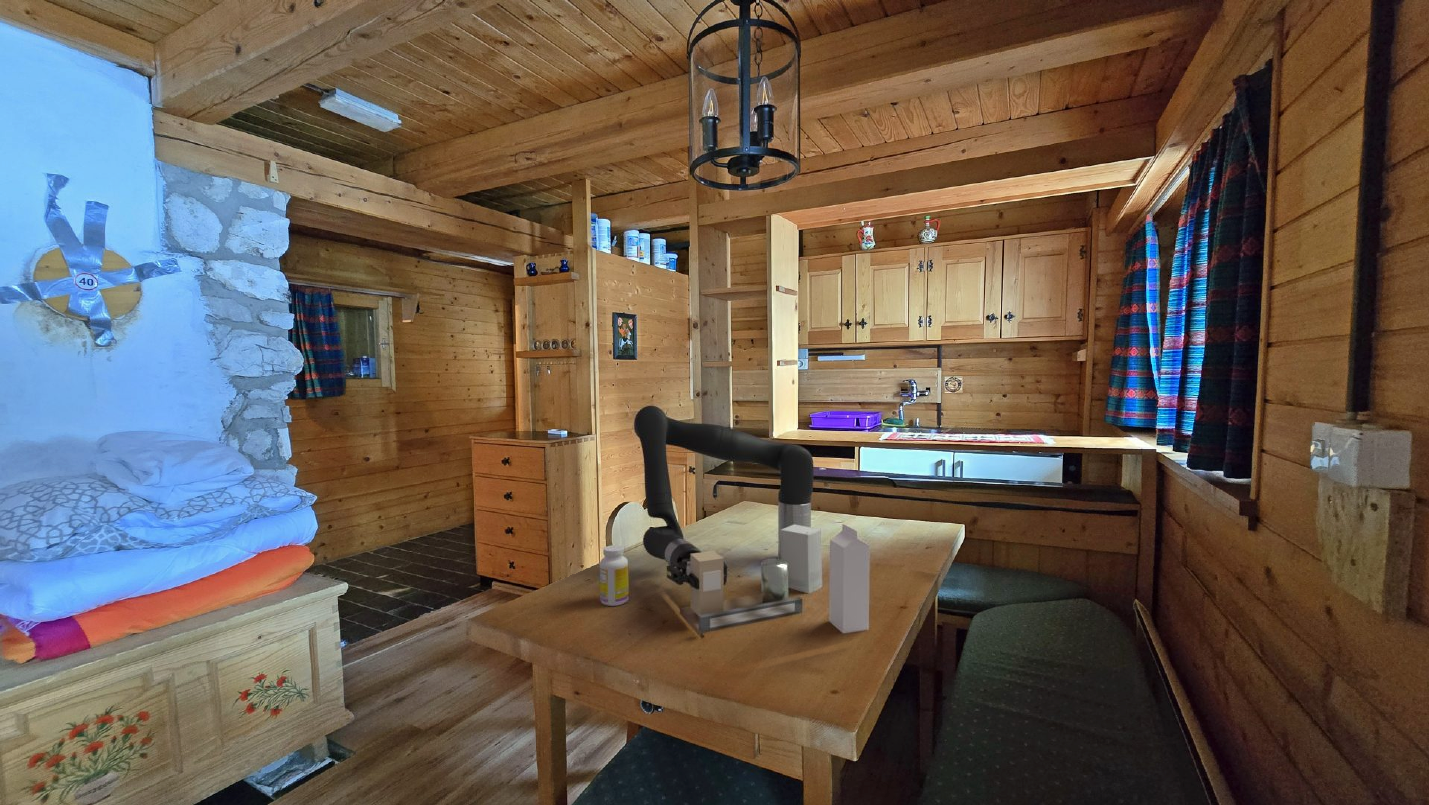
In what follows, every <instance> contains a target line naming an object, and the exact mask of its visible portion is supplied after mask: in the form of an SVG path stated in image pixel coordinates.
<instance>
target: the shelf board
mask: <svg viewBox="0 0 1429 805" xmlns="http://www.w3.org/2000/svg"><path fill="white" fill-rule="evenodd" d="M801 613H803V598H801V597H800V596H798V597H792V598H788V599H786V600H781V601H775V602H770V603H764V604H762V593H757V594H753V595H745V596H740V597H734V598H728V599H724V611H720V612H715V613H709V614H704V615H699V616H698V615H697V614H696V613H695V612H694V611H693V610H692V608H691V605H689V606H682V607H679V615H681V616H682V618H683V619H684V620H685V621H686V622H687V624H688V625H690V627H691V628H692V629H693V630H694V631H695V632H696V634H697V635H698V636H699V637H700V638H701V639H702V638H705V637H706V636H705V635H704V634H703V633H704V632H710V631H713V630H719V629H724V628H729V627H730V628H731V627H734V626H741V625H745V624H751V623H755V622H760V621H766V620H767V621H768V620H770V619H776V618H782V617H787V616H793V615H796V614H801Z"/></svg>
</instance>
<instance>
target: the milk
mask: <svg viewBox="0 0 1429 805" xmlns="http://www.w3.org/2000/svg"><path fill="white" fill-rule="evenodd" d="M870 547H871V546H870V544H868V543H866V542H865V541H863V540H861V539H859V537H858V530H856V529H855V528H852V527H850V526H848V525H846V524H845V523H842V526H841V531H840V532H838V533H837V534H835V535H834V536H833V537H832V538H830V539H829V614H828V615H829V616H828V617H829V618H828V619H829V623H830V624H832V625H833V626H834V627H835V628H836V629H837V630H839V632H841V633H842V634H849V633H855V632H863V631H868V630H870V629H869V626H870V620H869V619H870V551H871V550H870Z"/></svg>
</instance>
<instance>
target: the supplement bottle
mask: <svg viewBox="0 0 1429 805" xmlns="http://www.w3.org/2000/svg"><path fill="white" fill-rule="evenodd" d="M602 549H603V555H604V557H603V558H601V560H600V562H599V597H600V602H601V604H602V605H605V606H607V607H608V606H609V607H610V606H611V607H613V606H614V607H615V606H622V605H624V604H626V603H627V602H628V601H629V598H630V597H629V594H630V589H629V561H628V559H627V557H626V556H624V552H625V551H624V549H625V548H624V546H623V545H618V544H615V545H613V544H611V545H608V546H607V545H606V546H605V547H603V548H602Z"/></svg>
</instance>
